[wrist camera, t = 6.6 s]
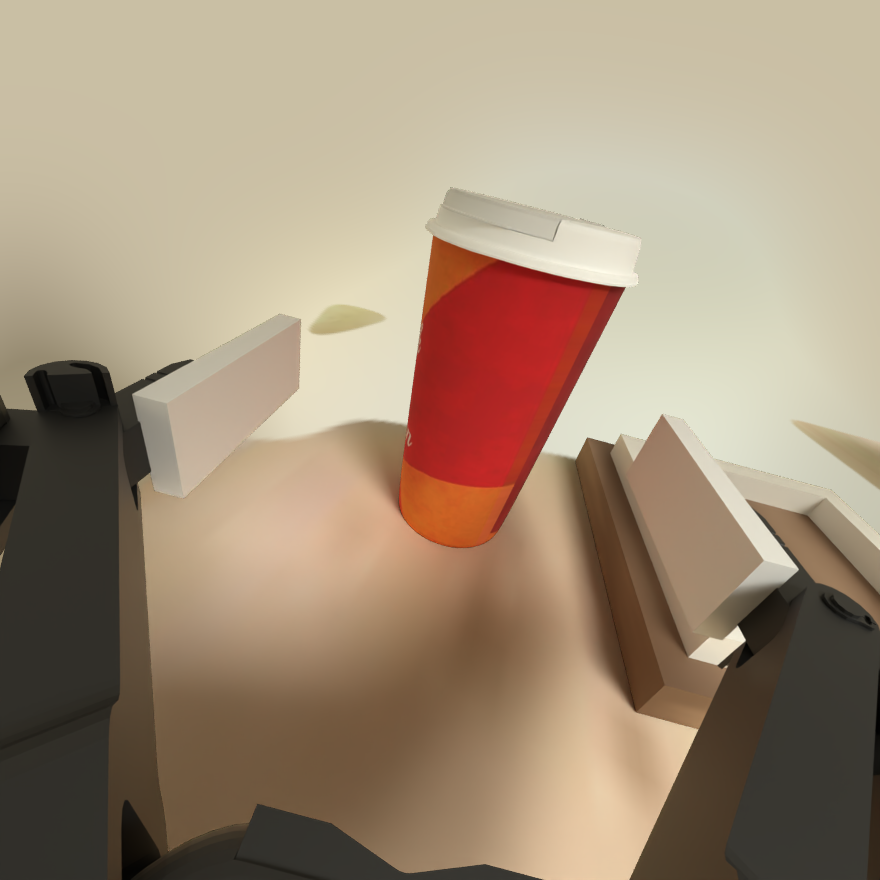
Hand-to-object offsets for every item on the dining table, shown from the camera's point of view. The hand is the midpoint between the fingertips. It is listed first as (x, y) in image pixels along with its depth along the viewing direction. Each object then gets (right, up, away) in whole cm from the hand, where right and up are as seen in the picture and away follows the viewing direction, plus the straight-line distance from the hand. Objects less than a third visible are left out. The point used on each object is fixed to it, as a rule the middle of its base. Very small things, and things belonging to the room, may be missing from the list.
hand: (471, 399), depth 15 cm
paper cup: (-1, -5, +7) cm, 9 cm away
